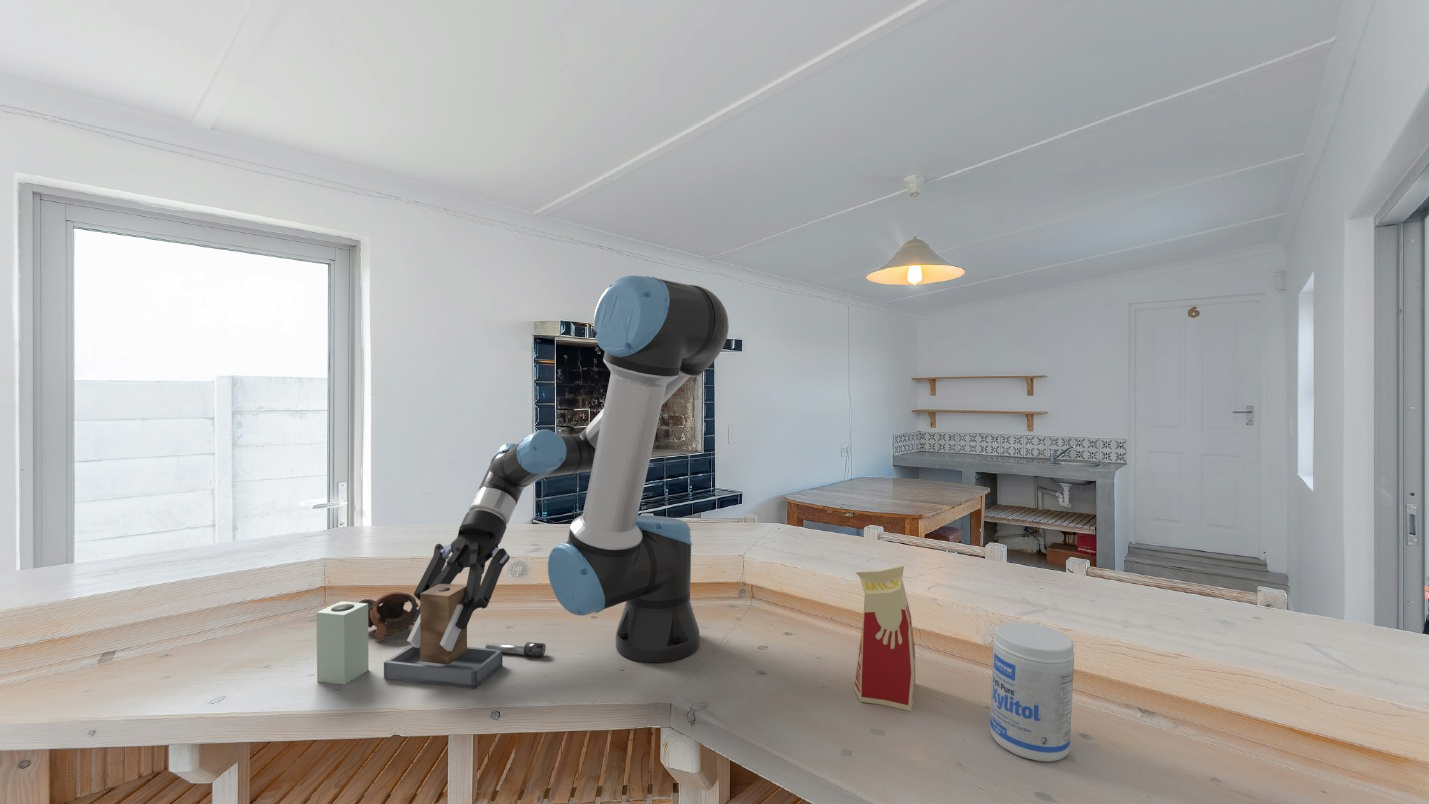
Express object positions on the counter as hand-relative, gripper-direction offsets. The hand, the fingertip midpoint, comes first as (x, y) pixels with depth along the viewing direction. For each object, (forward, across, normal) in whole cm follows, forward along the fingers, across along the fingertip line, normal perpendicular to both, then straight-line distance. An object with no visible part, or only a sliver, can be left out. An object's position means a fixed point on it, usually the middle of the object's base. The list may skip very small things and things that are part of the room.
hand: (429, 645), depth 96 cm
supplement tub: (+3, -88, -6) cm, 88 cm away
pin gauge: (-4, -8, -13) cm, 16 cm away
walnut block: (0, 0, -5) cm, 5 cm away
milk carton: (-4, -70, -13) cm, 71 cm away
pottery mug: (-7, +20, -16) cm, 27 cm away
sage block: (+5, +15, -4) cm, 16 cm away
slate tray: (+2, 0, -7) cm, 7 cm away
